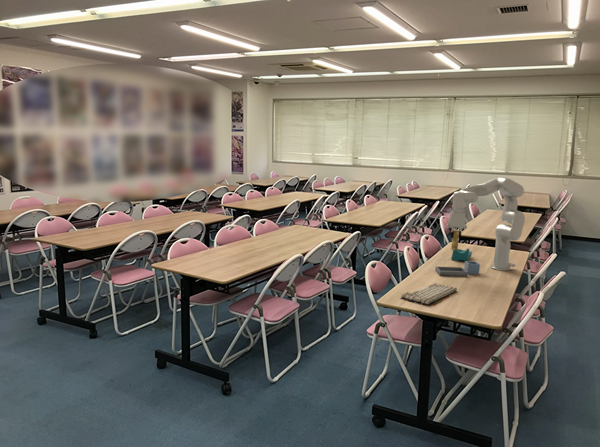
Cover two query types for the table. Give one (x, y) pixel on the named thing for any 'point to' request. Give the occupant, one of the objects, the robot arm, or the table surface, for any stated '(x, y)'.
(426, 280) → the table surface
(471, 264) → the blue box
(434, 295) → the mechanical keyboard
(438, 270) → the tray
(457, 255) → the teal notched holder
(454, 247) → the dowel
